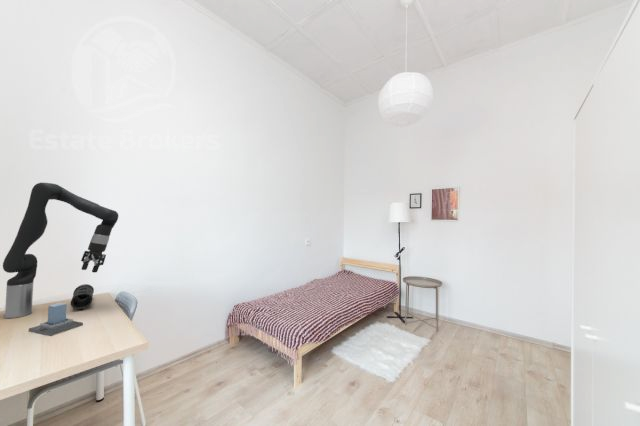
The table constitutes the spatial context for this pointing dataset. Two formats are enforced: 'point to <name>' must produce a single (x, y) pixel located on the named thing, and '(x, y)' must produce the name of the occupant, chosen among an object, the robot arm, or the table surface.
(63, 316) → the peg
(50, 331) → the grey metal socket plate
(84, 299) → the muzzle brake
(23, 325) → the table surface
